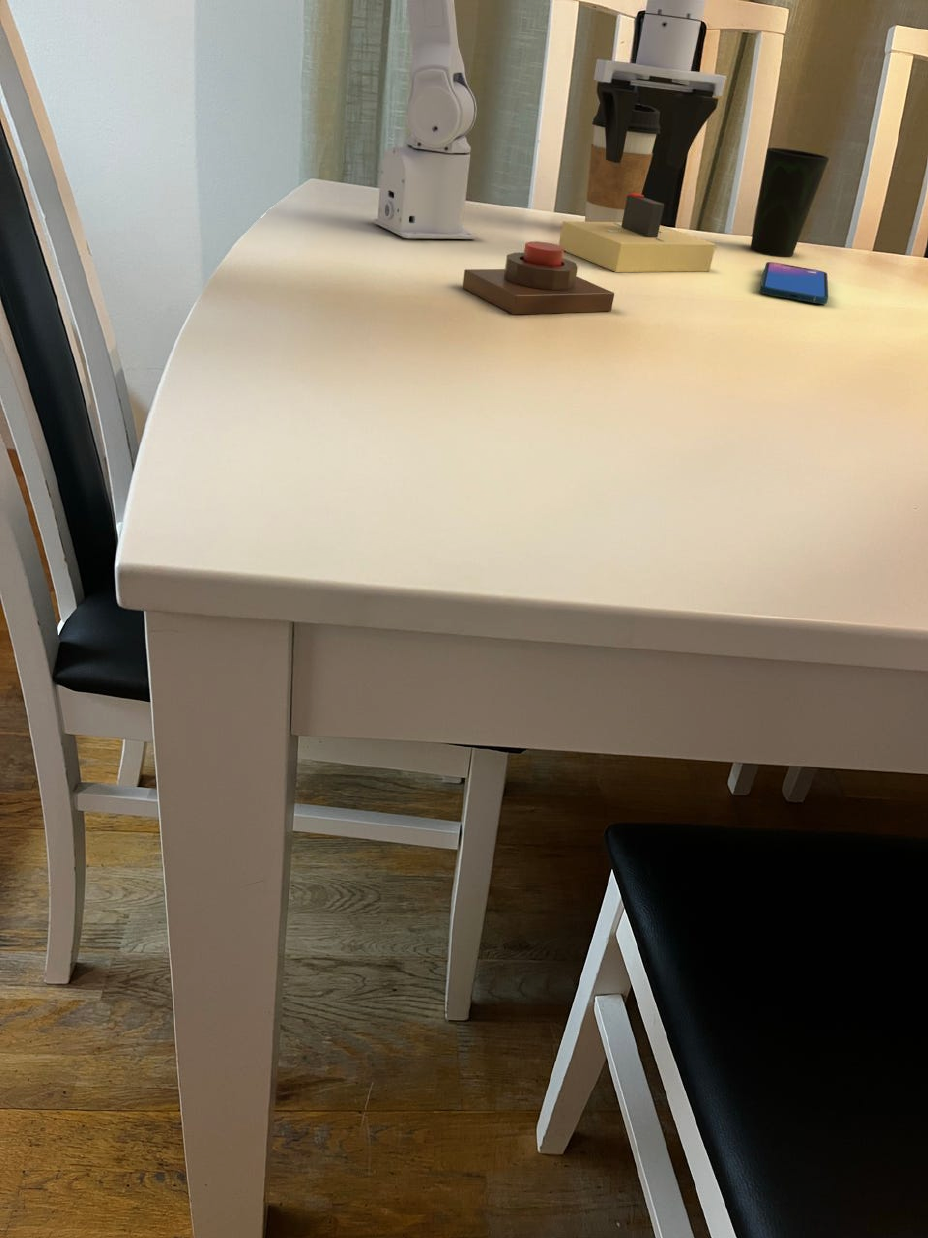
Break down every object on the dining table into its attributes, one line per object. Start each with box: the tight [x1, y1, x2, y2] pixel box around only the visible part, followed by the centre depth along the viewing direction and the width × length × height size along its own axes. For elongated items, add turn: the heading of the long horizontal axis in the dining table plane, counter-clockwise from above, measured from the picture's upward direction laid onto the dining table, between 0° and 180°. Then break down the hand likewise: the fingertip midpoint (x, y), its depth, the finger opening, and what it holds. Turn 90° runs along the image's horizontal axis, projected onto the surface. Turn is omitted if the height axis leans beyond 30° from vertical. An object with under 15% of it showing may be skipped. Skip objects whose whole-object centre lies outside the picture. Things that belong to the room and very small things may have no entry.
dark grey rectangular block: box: [621, 193, 665, 237], centre depth 111 cm, size 5×2×4 cm, turn 27°
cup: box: [750, 147, 830, 258], centre depth 126 cm, size 8×8×12 cm
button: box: [523, 240, 565, 267], centre depth 89 cm, size 4×4×2 cm
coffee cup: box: [584, 102, 661, 223], centre depth 121 cm, size 8×8×15 cm
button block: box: [462, 252, 615, 316], centre depth 90 cm, size 11×9×4 cm
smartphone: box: [759, 261, 829, 305], centre depth 110 cm, size 7×1×15 cm
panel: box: [558, 220, 717, 273], centre depth 112 cm, size 14×11×3 cm
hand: (643, 164), depth 105 cm, fingers open, 7 cm apart
